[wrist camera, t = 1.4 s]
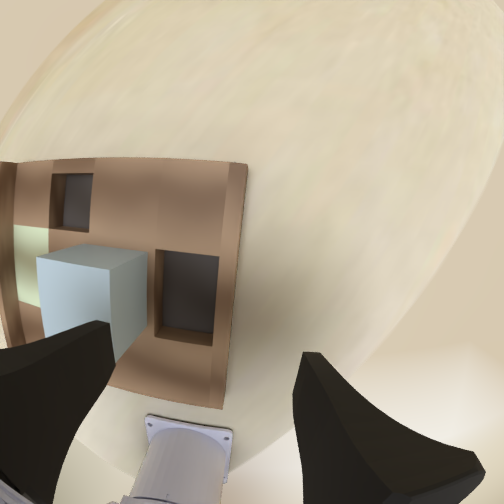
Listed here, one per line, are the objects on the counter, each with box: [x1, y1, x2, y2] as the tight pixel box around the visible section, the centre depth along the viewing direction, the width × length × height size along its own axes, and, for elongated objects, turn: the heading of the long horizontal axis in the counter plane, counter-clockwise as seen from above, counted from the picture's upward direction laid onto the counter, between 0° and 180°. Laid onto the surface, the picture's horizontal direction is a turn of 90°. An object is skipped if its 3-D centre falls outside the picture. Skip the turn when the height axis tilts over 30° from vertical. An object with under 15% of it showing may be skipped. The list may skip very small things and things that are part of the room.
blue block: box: [36, 244, 148, 363], centre depth 15 cm, size 5×5×5 cm
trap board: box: [0, 158, 248, 409], centre depth 17 cm, size 17×19×4 cm
